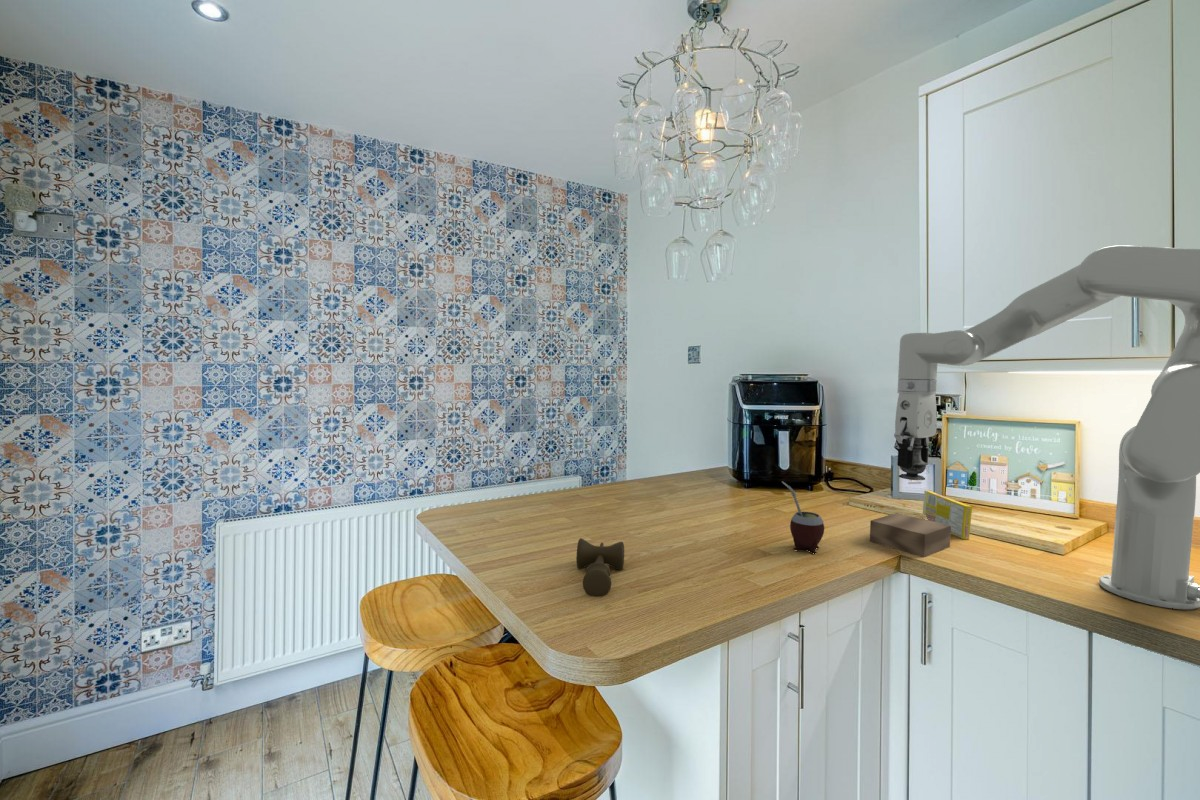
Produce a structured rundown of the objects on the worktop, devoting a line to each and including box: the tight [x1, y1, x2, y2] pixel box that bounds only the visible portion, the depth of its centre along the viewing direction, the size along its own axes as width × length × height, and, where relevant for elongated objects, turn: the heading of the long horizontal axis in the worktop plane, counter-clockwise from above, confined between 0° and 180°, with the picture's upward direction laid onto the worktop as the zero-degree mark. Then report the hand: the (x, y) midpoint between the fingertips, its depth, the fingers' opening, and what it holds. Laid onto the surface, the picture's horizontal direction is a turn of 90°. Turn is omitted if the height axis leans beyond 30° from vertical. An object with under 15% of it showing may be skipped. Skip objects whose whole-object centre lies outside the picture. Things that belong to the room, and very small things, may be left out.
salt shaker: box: [898, 434, 928, 481], centre depth 118 cm, size 6×6×12 cm
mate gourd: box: [781, 481, 825, 555], centre depth 115 cm, size 8×8×15 cm
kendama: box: [576, 537, 625, 598], centre depth 100 cm, size 6×10×20 cm
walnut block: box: [869, 512, 952, 558], centre depth 119 cm, size 12×12×5 cm
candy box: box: [922, 490, 973, 540], centre depth 131 cm, size 16×2×8 cm, turn 179°
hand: (912, 464), depth 118 cm, fingers closed on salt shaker, 5 cm apart
